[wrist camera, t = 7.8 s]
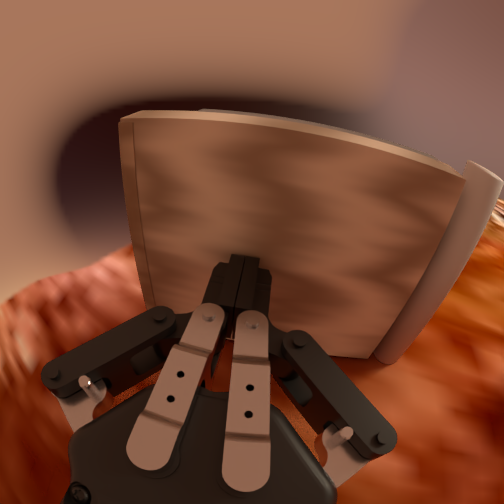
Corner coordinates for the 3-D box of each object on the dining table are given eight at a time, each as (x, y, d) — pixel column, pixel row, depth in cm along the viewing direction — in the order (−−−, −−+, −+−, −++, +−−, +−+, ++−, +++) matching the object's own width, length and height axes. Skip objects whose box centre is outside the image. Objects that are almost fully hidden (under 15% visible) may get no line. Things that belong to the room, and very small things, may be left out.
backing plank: (391, 317, 22) (467, 154, 13) (401, 365, 18) (511, 187, 9) (201, 286, 23) (204, 92, 14) (182, 334, 19) (166, 103, 10)
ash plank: (365, 336, 20) (448, 164, 11) (367, 359, 18) (466, 180, 10) (159, 300, 21) (140, 110, 12) (149, 320, 19) (118, 118, 11)
